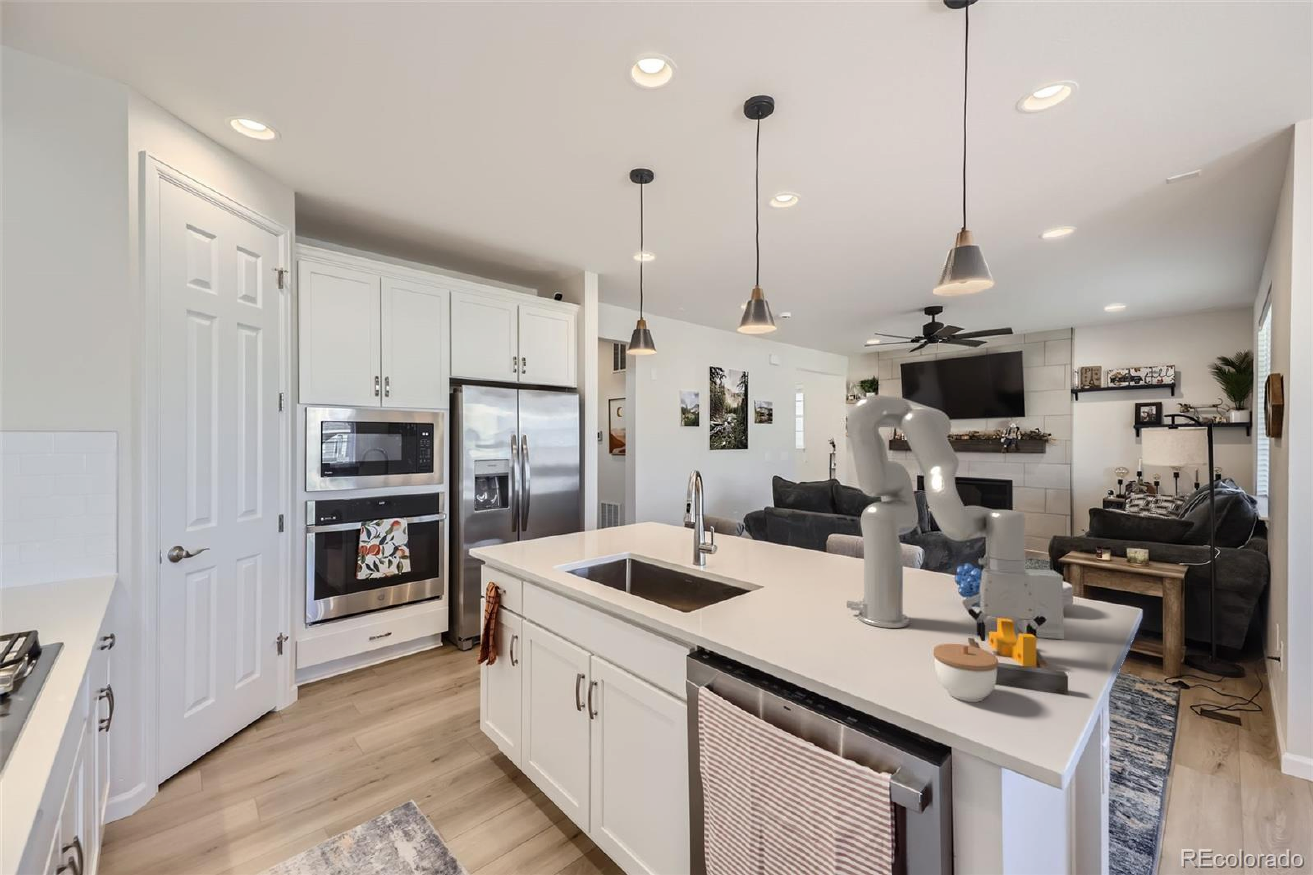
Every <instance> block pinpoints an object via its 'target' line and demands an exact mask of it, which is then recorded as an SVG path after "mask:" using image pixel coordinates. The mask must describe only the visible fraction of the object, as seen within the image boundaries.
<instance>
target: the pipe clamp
mask: <svg viewBox="0 0 1313 875" xmlns="http://www.w3.org/2000/svg"><path fill="white" fill-rule="evenodd" d="M996 620H997V624H996V625H997V626H996V628H997V629H996V630H997V631H989V632H988V634H989V635H988V640H989V644H988V645H990V647H992V648H993V649H994V650H995V651H997V653H999V654H1000V655H1001V656H1005V657H1006V656H1008V657H1009V656H1010V657H1011V658H1013V659H1014V660H1015V661H1016V662H1017V663H1019V665H1020V666H1028V667H1035V668H1037V663H1036V650H1037V637H1035V636H1034V635H1032V634H1024V633H1018V636H1017V635H1016V632H1015V629H1014V628H1015V626H1014V621H1013V619H1009V618H999V617H996Z"/></svg>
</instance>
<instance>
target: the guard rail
mask: <svg viewBox="0 0 1313 875" xmlns="http://www.w3.org/2000/svg"><path fill="white" fill-rule="evenodd" d="M967 639H968V640H967V642H968V644H969V646H973V647H976V648H979V646H978V644H977V642H976V641H975V638H973V637H967ZM1036 665H1037V666H1038V667H1031V666H1022V665H1021V664H1012V663H1005V662H998V667H997V679H996V683H995V685H999V686H1006V687H1013V688H1018V689H1019V688H1021V689H1026V690H1034V691H1041V692H1046V693H1054V694H1060V695H1065V696H1067V695H1069V675H1068V674H1067V673H1066V671H1062V670H1056V669H1050V667H1049V666H1048V665H1047V663H1046V661H1044V659H1043V657H1042V656H1041V654H1040V653H1039V651H1038V650H1037V649H1036Z"/></svg>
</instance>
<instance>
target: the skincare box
mask: <svg viewBox="0 0 1313 875" xmlns="http://www.w3.org/2000/svg"><path fill="white" fill-rule="evenodd" d="M1025 572H1027V573H1029V574H1030V577H1031V582H1032V588H1033V597H1034V600H1035V601H1037V602H1039V603H1041V604H1042V605H1044V606H1046V607H1048V608H1049V609H1050V610H1051V611H1052V613H1051V614H1050V616H1049V617H1048V618H1047V619H1046V622H1045V623H1043V624H1042V625H1040V626H1039V628H1038V629H1036V638H1040V639H1041V638H1043V639H1044V638H1045V639H1054V640H1055V639H1056V640H1064V639H1065V628H1064V621H1065V620H1064V609H1063V581H1064V576H1063V575H1062V574H1060V573H1059V572H1057V571H1055V570H1054V569H1037V568H1035V569H1033V568H1032V569H1031V568H1025ZM1040 613H1041V610H1039V609H1037V608H1036V607H1034V618H1033V619H1035V618H1036V617H1037V616H1039V615H1040ZM1027 625H1028V622H1027V620H1018V629H1019V630H1020V631H1021V632H1022V634H1027V631H1026V626H1027Z"/></svg>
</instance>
